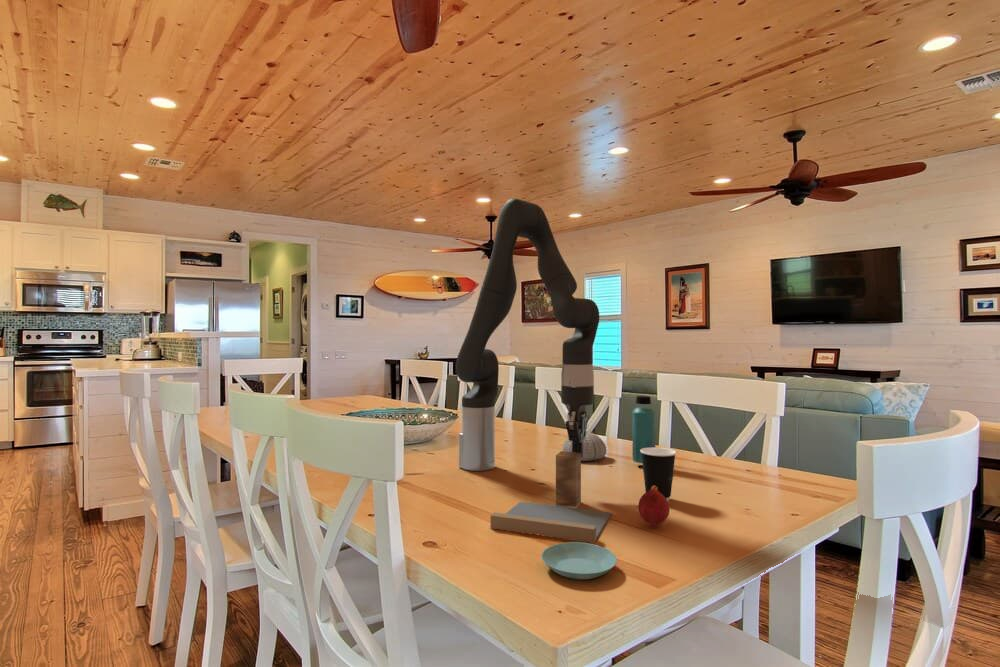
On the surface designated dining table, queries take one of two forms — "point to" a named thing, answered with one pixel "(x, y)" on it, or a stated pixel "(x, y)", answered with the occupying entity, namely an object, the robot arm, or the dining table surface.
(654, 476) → the dixie cup
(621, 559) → the dining table surface
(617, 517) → the dining table surface
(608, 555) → the saucer
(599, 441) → the sea urchin shell
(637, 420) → the beverage bottle
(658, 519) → the onion
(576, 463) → the cardboard box
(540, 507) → the grey flat slab
